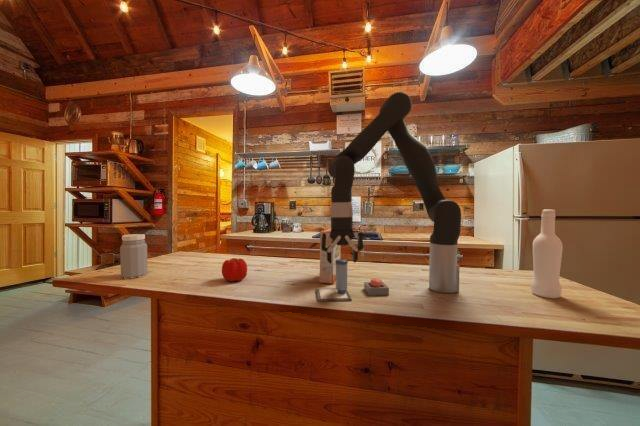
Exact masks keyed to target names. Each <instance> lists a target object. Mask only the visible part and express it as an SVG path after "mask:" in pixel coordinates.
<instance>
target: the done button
mask: <svg viewBox="0 0 640 426" xmlns="http://www.w3.org/2000/svg"><path fill="white" fill-rule="evenodd" d="M370 282H371V283H370V286H371V287H382V282H383V281H382V279H379V278H371V279H370Z"/></svg>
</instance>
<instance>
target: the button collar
mask: <svg viewBox="0 0 640 426" xmlns="http://www.w3.org/2000/svg"><path fill="white" fill-rule="evenodd" d="M370 283H371V281H370V282H369V281H368V282H367V281H365V282H363V284H364V285H363V289H364V291H365V293H366V294H367V295H368V296H369V297H370V296H389V295H390V287H389V286H388V285H386V284H385V283H384V282H383V281H382V287H371V286H370Z"/></svg>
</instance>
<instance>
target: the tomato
mask: <svg viewBox="0 0 640 426" xmlns="http://www.w3.org/2000/svg"><path fill="white" fill-rule="evenodd" d="M221 275H222V277H223V278H224V280H227V281H229V282H233V283H234V282H240V281H242V280H244V279H245V278H247V277H246V276H247V275H248V265H247V262H246V261H245V260H244V259H243V258H240V257H239V258H234V257H233V258H230V259H226V260H224V262H223V263H222V264H221Z"/></svg>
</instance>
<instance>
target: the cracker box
mask: <svg viewBox="0 0 640 426" xmlns="http://www.w3.org/2000/svg"><path fill="white" fill-rule="evenodd" d="M330 232H331V228H327V229H324V230H321V231H320V232H319V233H320V236H319V240H320V241H319V246H320V247H319V283H321V284H330V285H333V284H334V283H336V260H339V259H341V246H342V245H335V247H334V248H333V249H332V250H331V261H332V263H329V262H328V261H327V252H326V251H323V250H322V249H321V243H322V233H330ZM331 242H332V239H331V237H330V236H329V237H328V239H327V240H326V247H327V248H328V246H329V245H330V243H331Z"/></svg>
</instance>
